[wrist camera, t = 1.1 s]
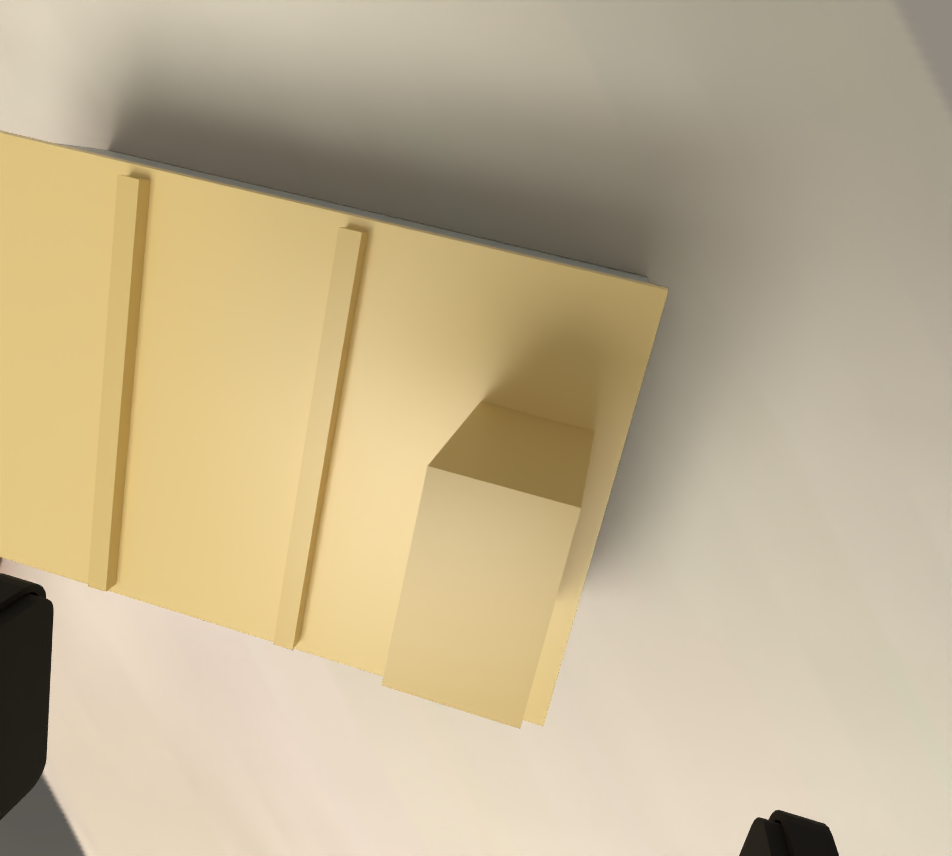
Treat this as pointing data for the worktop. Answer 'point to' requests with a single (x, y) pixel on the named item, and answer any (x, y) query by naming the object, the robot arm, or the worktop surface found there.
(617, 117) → the worktop surface
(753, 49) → the worktop surface
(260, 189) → the tub
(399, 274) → the lid
